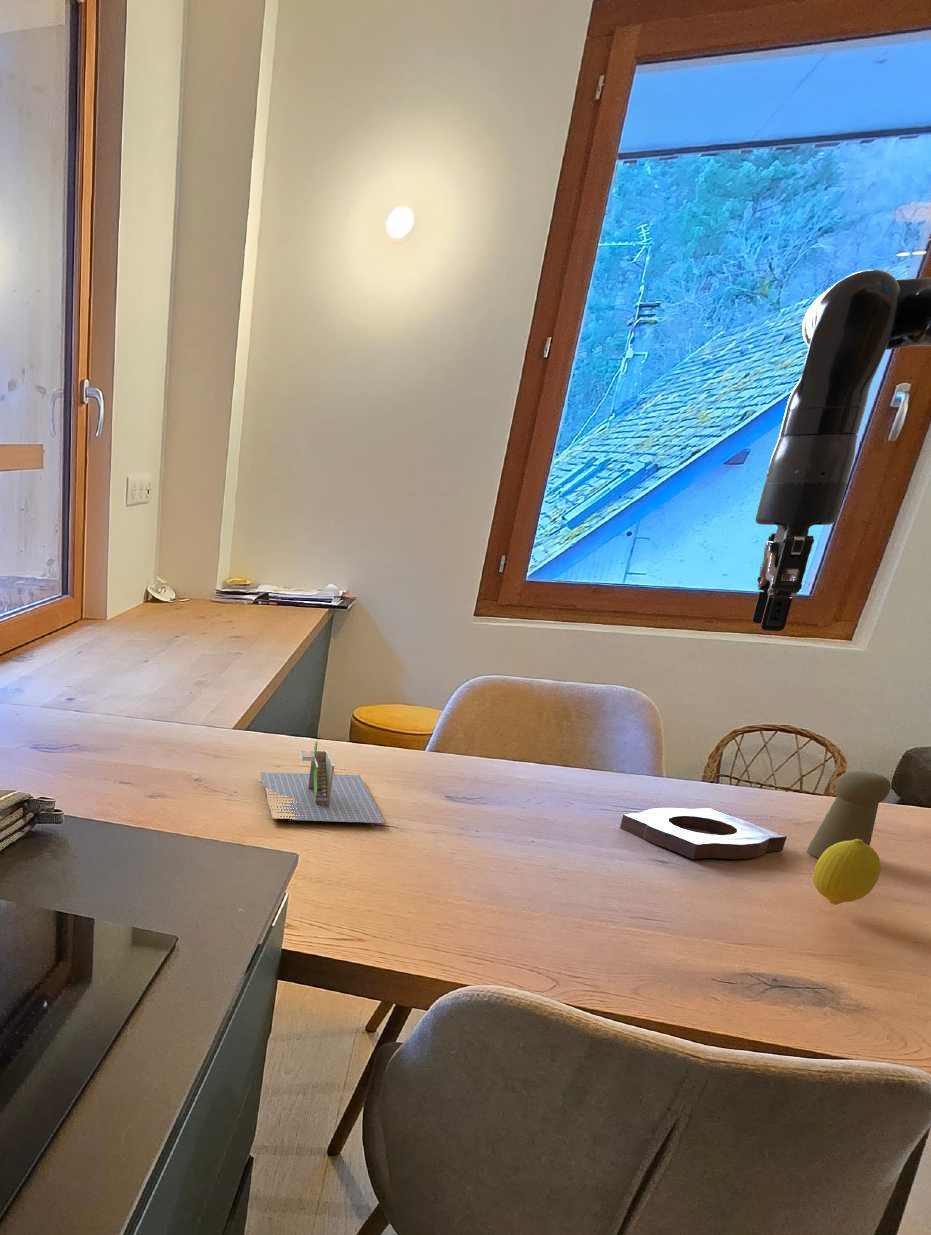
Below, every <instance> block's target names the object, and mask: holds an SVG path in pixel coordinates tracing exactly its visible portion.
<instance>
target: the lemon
mask: <svg viewBox="0 0 931 1235" xmlns="http://www.w3.org/2000/svg"><path fill="white" fill-rule="evenodd" d="M817 859H818V860H817V862H816V864H815V866H814V869H813V873H812V881H813V885H814V888H815V889H816V890H817V892H818V893H819V894H820V895H822V896H823V897H824V898H826V899H827V901H828V902H829V903H830V904H831V905H834V906H837V905H840V904H842V903H850V902H856V901H858V900H861V899H863V898H864V897H865V896H867V895H868V894H869V893H870V892H871V891H872V890H873V888H875V886H876V884H877V883H878V880H879V877H880V873H881V860H880V856H879V854H878V853H877V851H876V850H875V849H874V848H873V847H872V846H871V845H870V846H869V845H867V844H865V843H864V842H863V841H862V840H860V839H854V840H852V841H843V842H839V843H836V844H834V845H832V846H830V847H829V848H827V849H826V850H825V851H824V852H823V854H822V855H821V856H820V858H817Z"/></svg>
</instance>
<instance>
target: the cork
mask: <svg viewBox="0 0 931 1235" xmlns="http://www.w3.org/2000/svg"><path fill="white" fill-rule="evenodd" d="M834 791H835V794H836V797H835V799H834V800H833V802H832V804H831V806H830V808H829V810H828V811H827V813H826V814H825V817H824V818H823V819H822V822H821V824H820V825H819V827H818V830H817V831H816V832H815V834H814V836H813V838H812V840H811V842H810V843H809V845H808V847H807V849H806V850H807V853H808V854H810V855H811V856H813V857H815V858H816V859H819V858H820V856H821V855H822V854H823V852H824V851H825V850H826V849H827V848H829V847H830V846H832V845H834V844H836V843H839V842H843V841H852V840H854V839H860V840H862V841H863V842H864V843H865V844H867V845H869V846H870V847H871V841H872V838H873V832H874V829H875V828H874V827H875V824H876V818H877V813H878V808H879V804H880V803H881V802H883V801H884V800H885V799H886V798H887V797H888V796H889V794H890V792H891V783H890V780H889V779H888V778H887V777H886V776H884V775H881V774H879V773H875V772H871V771H864V770H850V771H847V772H844V773H842V774H841V775H840V776H839V777H838V778H837V780H836V781H835V784H834Z"/></svg>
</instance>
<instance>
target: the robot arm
mask: <svg viewBox="0 0 931 1235" xmlns="http://www.w3.org/2000/svg"><path fill="white" fill-rule="evenodd" d="M803 318H804V319H803V321H802V325H801V326H802V327H801V328H802V330H801V331H802V336H803V339H804V342H805V343H806V345H807V346H808V350H807V354H806V358H805V361H804V365H803V370H802V373H801V377H800V378H799V381H798V382H797V384H796V385H795V386H794V388H793V390H792V391H791V394H790V396H789V398H788V401H787V405H786V408H785V412H784V416H783V420H782V424H781V428H780V431H779V435H778V436H779V437H778V438H777V443H776V445H775V447H774V450H773V452H772V455H771V458H770V460H769V464H768V468H767V472H766V476H765V480H764V483H763V487H762V492H761V495H760V500H759V504H758V508H757V510H756V516H755V523H756V524H758V525H767V526H773V525H774V526H777V529H776V532H771V533H770V535H769V536H768V539H767V541H766V543H765V546H764V549H763V559H762V562H761V564H760V567H759V576H758V577H757V580H756V581H757V588H758V595H757V598H756V602H755V607H754V609H753V614H752V618H751V621H752V622H753V623H754V624H760V628H761V630H762V631H766V632H767V631H769V632H781V631H783V630H784V629H785V627H786V624H787V620H788V617H789V613H790V609H791V606H792V602H793V598H795V597H796V595H797V594H798V593H799V592H800V590H801V589H802V588H803V579H804V576H805V573H806V570H807V565H808V561H809V558H810V554H811V552H812V549H813V545H814V542H815V539H814V535H809V531H810V530H809V529H810V528H811V527H813V526H828V525H833V524H835V523H836V521H837V520H838V517H839V513H840V509H841V506H842V503H843V499H844V496H845V491H846V488H847V485H848V482H849V478H850V474H851V471H852V467H853V463H854V461H855V455H856V449H857V448H856V447H857V440H858V434H859V433H860V432H859V431H860V428H861V425H862V422H863V418H864V415H865V410H866V407H867V403H868V398H869V392H870V388H871V385H872V382H873V380H874V377H875V376H876V373H877V372H878V369H879V367H880V365H881V362H882V360H883V357H884V355H885V353H886V351H888V350H894V349H902V348H909V347H910V348H911V347H931V276H927V277H921V278H905V279H896V278H895V277H894V275H892V274H890V273H889V272H886V271H884V270H879V269H866V270H862V271H857V272H854V273H852V274H850V275H847V276H846V277H843V278H842V279H841V280H839V281H837V282H836V283H835V284H833V286H831V287H830V288H828V289H827V290H826V291H824V292H823V293H822V294H820V295H819V296H818V297H817V298H816V299H815V300H814V301H813V302H812V304H811V305H810V306H809V308H808V310H807V312H806V313H805V316H804V317H803Z"/></svg>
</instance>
